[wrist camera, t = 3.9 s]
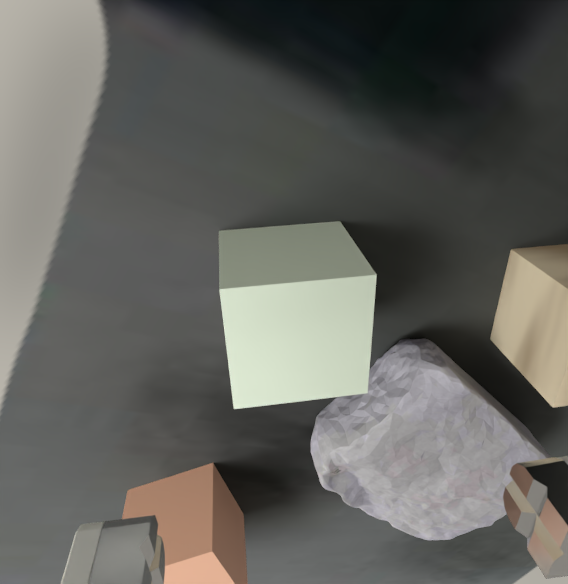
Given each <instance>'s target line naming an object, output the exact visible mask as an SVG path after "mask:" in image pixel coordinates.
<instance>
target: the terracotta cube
mask: <svg viewBox="0 0 568 584" xmlns="http://www.w3.org/2000/svg"><path fill="white" fill-rule="evenodd" d="M151 515H155V516H156V519H157V522H158V531H157V535H159V536H161V537H162V540H163V544H164V551H165V575H164V584H247V566H246V548H245V530H244V514H243V513H242V511H241V509H240V507H239V506H238V504H237V502H236V501H235V499H234V497H233V496H232V494H231V492H230V491H229V489H228V487H227V486H226V484H225V482H224V480H223V479H222V477H221V475H220V474H219V472H218V470H217V469H216V467H215V465H214V464H213V463H211V464H208V465H205V466H202V467H198V468H195V469H192V470H189V471H186V472H183V473H180V474H177V475H174V476H170V477H167V478H164V479H161V480H158V481H155V482H152V483H149V484H145V485H142V486H139V487H136V488H133V489H130V490H128V492H127V497H126V502H125V507H124V512H123V517H122V519H128V518H135V517H143V516H151Z"/></svg>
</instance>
